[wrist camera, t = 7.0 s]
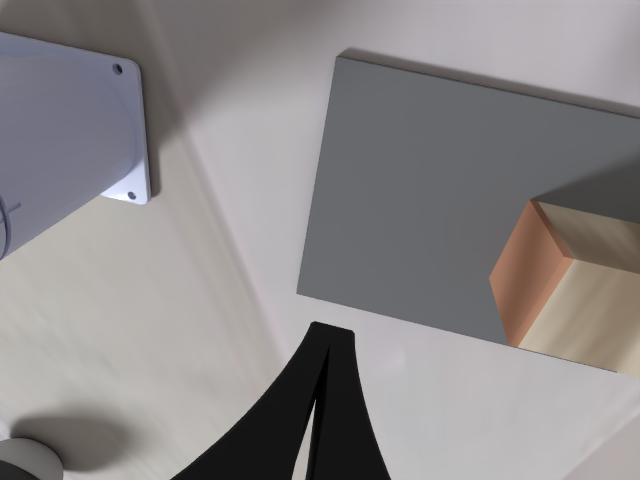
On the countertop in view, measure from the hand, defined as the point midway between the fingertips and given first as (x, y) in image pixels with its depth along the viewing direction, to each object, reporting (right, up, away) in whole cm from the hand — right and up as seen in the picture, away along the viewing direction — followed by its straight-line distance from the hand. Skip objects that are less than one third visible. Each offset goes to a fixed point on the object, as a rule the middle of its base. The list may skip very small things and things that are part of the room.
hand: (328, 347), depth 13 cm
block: (+9, +2, +6) cm, 11 cm away
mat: (+9, +4, +8) cm, 13 cm away
